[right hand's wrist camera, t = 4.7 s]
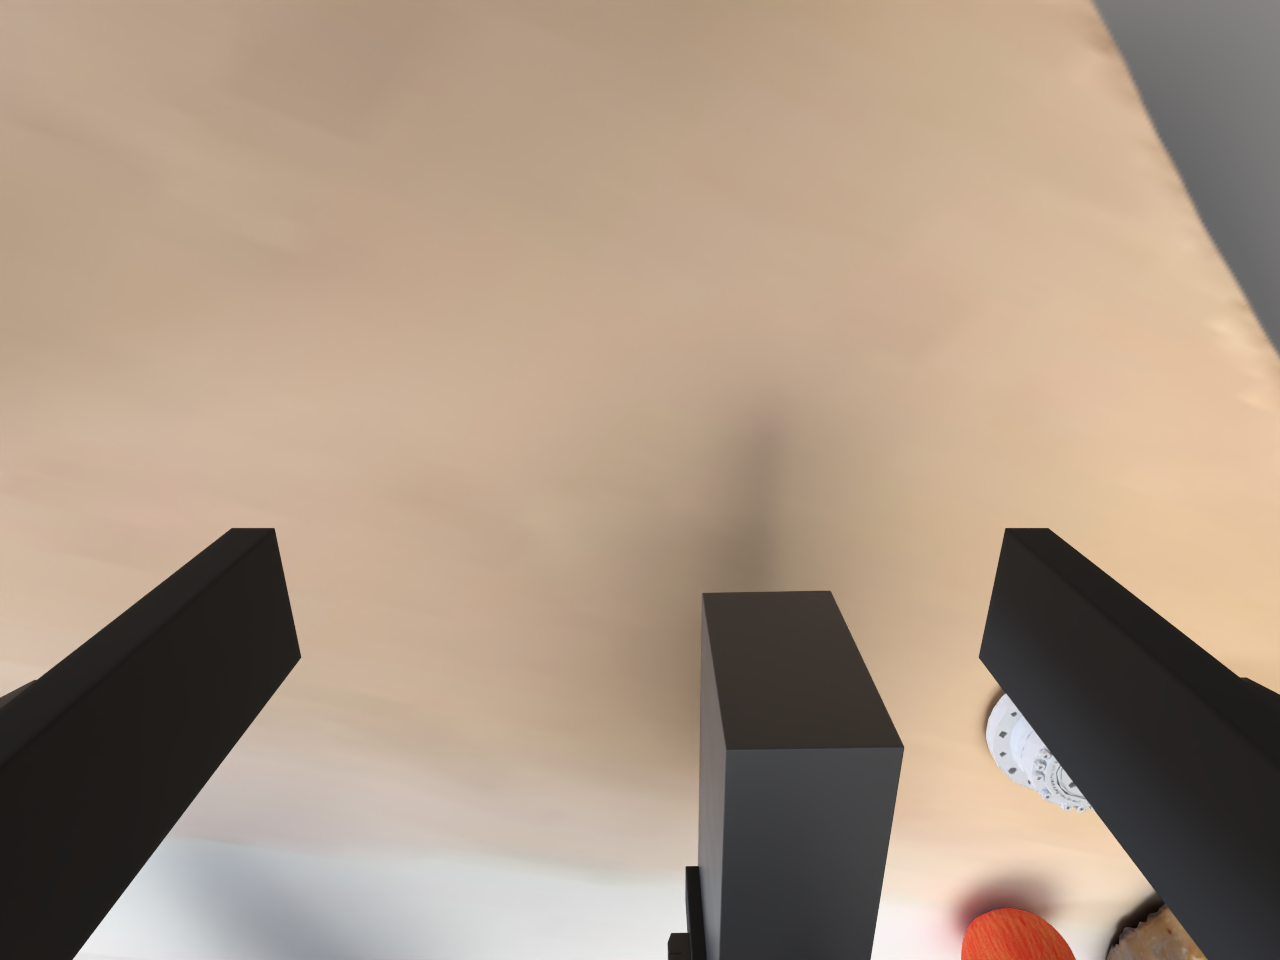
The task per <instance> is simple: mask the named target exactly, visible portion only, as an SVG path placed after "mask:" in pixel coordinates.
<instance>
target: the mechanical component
mask: <svg viewBox="0 0 1280 960" xmlns="http://www.w3.org/2000/svg"><path fill="white" fill-rule="evenodd" d="M986 739H987V744H988V748H989V751H990V753H991V754H992V756H993V758H994V760H995V761H996V763H997V765H998V767H999V768H1000V769H1001V770H1002V771H1003V772H1004V773H1005V774H1006V775H1007V776H1008V777H1009V778H1010V779H1011V780H1012V781H1013V782H1015V783H1018V784H1020V785H1022V786H1024V787H1026V788H1029V789H1034V790H1037V792H1038V793H1039V794H1040V795H1041V796H1042V798H1043V799H1044V800H1048V801H1049V802H1051V803H1054V804H1057V805H1060V806H1061V807H1062V808H1063V809H1064V810H1065V811H1070V810H1071V809H1072V808H1076V810H1077V811H1078V812H1084V811H1085V810H1086V808H1090V809H1091V810H1093V811H1095V810H1094V809H1093V808H1092V806H1091V805H1090V804H1089V802H1088V801H1087V800H1086V798H1085V797H1084V796H1083V794H1082V793H1081V792H1080V791H1079V789H1078V788H1077V787H1076V785H1075V784H1074V783H1073V781H1072V780H1071V779H1070V777H1069V776H1068V775H1067V773H1066V772H1065V771H1064V769H1063V768H1062V767H1061V765H1060V764H1059V763H1058V761H1057V760H1056V759H1055V757H1054V756H1053V755H1052V754H1051V752H1050V751H1049V750H1048V748H1047V747H1046V746H1045V744H1044V743H1043V742H1042V740H1041V739H1040V738H1039V736H1038V735H1037V734H1036V732H1035V731H1034V730H1033V728H1032V727H1031V726H1030V724H1029V723H1028V722H1027V721H1026V719H1025V718H1024V717H1023V715H1022V714H1021V713H1020V711H1019V710H1018V709H1017V707H1016V706H1015V705H1014V703H1013V702H1012V701H1011V699H1010V698H1009V697H1008V695H1007V694H1006V693H1005V694H1004V695H1003V696H1002V697H1001V699H1000V700H999V701H998V703H997V704H996V706H995V707H994V709H993V711H992V713H991V715H990V717H989V719H988V724H987V731H986Z"/></svg>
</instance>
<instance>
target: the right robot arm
mask: <svg viewBox="0 0 1280 960" xmlns="http://www.w3.org/2000/svg"><path fill="white" fill-rule="evenodd" d="M300 658H301V654H300V649H299V644H298V639H297V635H296V630H295V625H294V620H293V615H292V610H291V606H290V601H289V596H288V591H287V586H286V581H285V577H284V572H283V567H282V562H281V557H280V552H279V548H278V543H277V538H276V533H275V528H231V529H230V530H229V531H228V532H226V533H225V534H224V535H222V536H221V537H220V538H219V539H217V540H216V541H215V542H213V543H212V544H211V545H210V546H208V547H207V548H206V549H204V550H203V551H202V552H201V553H199V554H198V555H197V556H196V557H194V558H193V559H192V560H190V561H189V562H188V563H187V564H185V565H184V566H183V567H181V568H180V569H179V570H178V571H176V572H175V573H174V574H172V575H171V576H170V577H169V578H167V579H166V580H165V581H163V582H162V583H161V584H160V585H158V586H157V587H156V588H154V589H153V590H152V591H151V592H149V593H148V594H147V595H145V596H144V597H143V598H142V599H140V600H139V601H138V602H137V603H135V604H134V605H133V606H131V607H130V608H129V609H128V610H126V611H125V612H124V613H122V614H121V615H120V616H119V617H117V618H116V619H115V620H113V621H112V622H111V623H110V624H108V625H107V626H106V627H104V628H103V629H102V630H101V631H99V632H98V633H97V634H95V635H94V636H93V637H92V638H90V639H89V640H88V641H86V642H85V643H84V644H83V645H81V646H80V647H79V648H78V649H76V650H75V651H74V652H72V653H71V654H70V655H69V656H67V657H66V658H65V659H63V660H62V661H61V662H60V663H58V664H57V665H56V666H54V667H53V668H52V669H51V670H49V671H48V672H47V673H45V674H44V675H43V676H42V677H40V678H39V679H38V680H34V681H32V682H30V683H28V684H26V685H24V686H22V687H20V688H18V689H16V690H14V691H12V692H10V693H8V694H7V695H5V696H3V697H1V698H0V960H73V958H74V957H75V956H76V954H77V953H78V952H79V950H80V949H81V948H82V946H83V945H84V944H85V942H86V941H87V940H88V938H89V937H90V936H91V934H92V933H93V932H94V931H95V929H96V928H97V927H98V925H99V924H100V923H101V921H102V920H103V919H104V917H105V916H106V915H107V913H108V912H109V911H110V909H111V908H112V907H113V905H114V904H115V903H116V901H117V900H118V899H119V897H120V896H121V895H122V894H123V892H124V891H125V890H126V888H127V887H128V886H129V884H130V883H131V882H132V880H133V879H134V878H135V876H136V875H137V874H138V872H139V871H140V870H141V868H142V867H143V866H144V864H145V863H146V862H147V861H148V859H149V858H150V857H151V855H152V854H153V853H154V851H155V850H156V849H157V847H158V846H159V845H160V843H161V842H162V841H163V839H164V838H165V837H166V835H167V834H168V833H169V831H170V830H171V829H172V827H173V826H174V825H175V824H176V822H177V821H178V820H179V818H180V817H181V816H182V814H183V813H184V812H185V810H186V809H187V808H188V806H189V805H190V804H191V802H192V801H193V800H194V798H195V797H196V796H197V794H198V793H199V792H200V791H201V789H202V788H203V787H204V785H205V784H206V783H207V781H208V780H209V779H210V777H211V776H212V775H213V773H214V772H215V771H216V769H217V768H218V767H219V765H220V764H221V763H222V761H223V760H224V759H225V757H226V756H227V755H228V754H229V752H230V751H231V750H232V748H233V747H234V746H235V744H236V743H237V742H238V740H239V739H240V738H241V736H242V735H243V734H244V732H245V731H246V730H247V728H248V727H249V726H250V724H251V723H252V722H253V721H254V719H255V718H256V717H257V715H258V714H259V713H260V711H261V710H262V709H263V707H264V706H265V705H266V703H267V702H268V701H269V699H270V698H271V697H272V695H273V694H274V693H275V691H276V690H277V689H278V687H279V686H280V685H281V684H282V682H283V681H284V680H285V678H286V677H287V676H288V674H289V673H290V672H291V670H292V669H293V668H294V666H295V665H296V664H297V662H298V661H299V660H300ZM979 658H980V660H981V661H982V662H983V664H984V665H985V666H986V668H987V669H988V670H989V672H990V673H991V674H992V676H993V677H994V678H995V680H996V681H997V682H998V684H999V685H1000V686H1001V687H1002V689H1003V690H1004V691H1005V693H1006V694H1007V695H1008V697H1009V698H1010V699H1011V701H1012V702H1013V703H1014V705H1015V706H1016V707H1017V709H1018V710H1019V711H1020V713H1021V714H1022V715H1023V717H1024V718H1025V719H1026V721H1027V722H1028V723H1029V724H1030V726H1031V727H1032V728H1033V730H1034V731H1035V732H1036V734H1037V735H1038V736H1039V738H1040V739H1041V740H1042V742H1043V743H1044V744H1045V746H1046V747H1047V748H1048V750H1049V751H1050V752H1051V754H1052V755H1053V756H1054V757H1055V759H1056V760H1057V761H1058V763H1059V764H1060V765H1061V767H1062V768H1063V769H1064V771H1065V772H1066V773H1067V775H1068V776H1069V777H1070V779H1071V780H1072V781H1073V783H1074V784H1075V785H1076V787H1077V788H1078V789H1079V791H1080V792H1081V793H1082V794H1083V796H1084V797H1085V798H1086V800H1087V801H1088V802H1089V804H1090V805H1091V806H1092V808H1093V809H1094V810H1095V812H1096V813H1097V814H1098V816H1099V817H1100V818H1101V820H1102V821H1103V822H1104V824H1105V825H1106V826H1107V827H1108V829H1109V830H1110V831H1111V833H1112V834H1113V835H1114V837H1115V838H1116V839H1117V841H1118V842H1119V843H1120V845H1121V846H1122V847H1123V849H1124V850H1125V851H1126V853H1127V854H1128V855H1129V857H1130V858H1131V859H1132V861H1133V862H1134V863H1135V864H1136V866H1137V867H1138V868H1139V870H1140V871H1141V872H1142V874H1143V875H1144V876H1145V878H1146V879H1147V880H1148V882H1149V883H1150V884H1151V886H1152V887H1153V888H1154V890H1155V891H1156V892H1157V894H1158V895H1159V896H1160V897H1161V899H1162V900H1163V901H1164V903H1165V904H1166V905H1167V907H1168V908H1169V909H1170V911H1171V912H1172V913H1173V915H1174V916H1175V917H1176V919H1177V920H1178V921H1179V923H1180V924H1181V925H1182V927H1183V928H1184V929H1185V931H1186V932H1187V933H1188V934H1189V936H1190V937H1191V938H1192V940H1193V941H1194V942H1195V944H1196V945H1197V946H1198V948H1199V949H1200V950H1201V952H1202V953H1203V954H1204V956H1205V957H1206V958H1207V960H1280V695H1279V694H1277V693H1275V692H1274V691H1272V690H1270V689H1268V688H1266V687H1264V686H1262V685H1260V684H1258V683H1256V682H1254V681H1252V680H1250V679H1248V678H1240V677H1238V676H1237V675H1236V674H1235V673H1233V672H1232V671H1231V670H1229V669H1228V668H1227V667H1226V666H1224V665H1223V664H1222V663H1220V662H1219V661H1218V660H1217V659H1215V658H1214V657H1213V656H1211V655H1210V654H1209V653H1208V652H1206V651H1205V650H1204V649H1202V648H1201V647H1200V646H1199V645H1197V644H1196V643H1195V642H1194V641H1192V640H1191V639H1190V638H1188V637H1187V636H1186V635H1185V634H1183V633H1182V632H1181V631H1179V630H1178V629H1177V628H1176V627H1174V626H1173V625H1172V624H1170V623H1169V622H1168V621H1167V620H1165V619H1164V618H1163V617H1161V616H1160V615H1159V614H1158V613H1156V612H1155V611H1154V610H1152V609H1151V608H1150V607H1149V606H1147V605H1146V604H1145V603H1143V602H1142V601H1141V600H1140V599H1138V598H1137V597H1136V596H1135V595H1133V594H1132V593H1131V592H1129V591H1128V590H1127V589H1126V588H1124V587H1123V586H1122V585H1120V584H1119V583H1118V582H1117V581H1115V580H1114V579H1113V578H1111V577H1110V576H1109V575H1108V574H1106V573H1105V572H1104V571H1102V570H1101V569H1100V568H1099V567H1097V566H1096V565H1095V564H1093V563H1092V562H1091V561H1090V560H1088V559H1087V558H1086V557H1084V556H1083V555H1082V554H1081V553H1079V552H1078V551H1077V550H1076V549H1074V548H1073V547H1072V546H1070V545H1069V544H1068V543H1067V542H1065V541H1064V540H1063V539H1061V538H1060V537H1059V536H1058V535H1056V534H1055V533H1054V532H1052V531H1051V530H1050V529H1049V528H1005V533H1004V538H1003V543H1002V548H1001V552H1000V557H999V562H998V567H997V572H996V577H995V581H994V586H993V591H992V596H991V601H990V606H989V610H988V615H987V620H986V625H985V630H984V635H983V639H982V644H981V649H980V654H979Z"/></svg>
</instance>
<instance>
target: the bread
mask: <svg viewBox="0 0 1280 960" xmlns="http://www.w3.org/2000/svg"><path fill="white" fill-rule="evenodd" d="M1106 960H1207V958H1206V957H1205V956H1204V954H1203V953H1202V952H1201V950H1200V949H1199V948H1198V946H1197V945H1196V944H1195V942H1194V941H1193V940H1192V938H1191V937H1190V936H1189V934H1188V933H1187V932H1186V931H1185V929H1184V928H1183V927H1182V925H1181V924H1180V923H1179V921H1178V920H1177V919H1176V917H1175V916H1174V915H1173V913H1172V912H1171V911H1170V909H1169V908H1168V907H1167V905H1166V904H1164V905H1163V906H1162V907H1160V908H1159V910H1158V912H1155V913H1149V914H1148V916H1147V922H1139V924H1138V927H1137V928H1131V927H1125V928H1124V930H1123V933H1121V934H1120V935H1119V945H1118V944H1116V945H1115V947H1114V946H1113V945H1112V946H1111V948H1110V951H1109V954H1108V956H1107V959H1106Z"/></svg>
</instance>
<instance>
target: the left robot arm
mask: <svg viewBox="0 0 1280 960" xmlns="http://www.w3.org/2000/svg"><path fill="white" fill-rule="evenodd" d="M686 915H687V931H688V933H671V935H670V938H669V941H668V960H707V957H706V945H705V933H704V921H703V910H702V898H701V886H700V875H699V866H686Z"/></svg>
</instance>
